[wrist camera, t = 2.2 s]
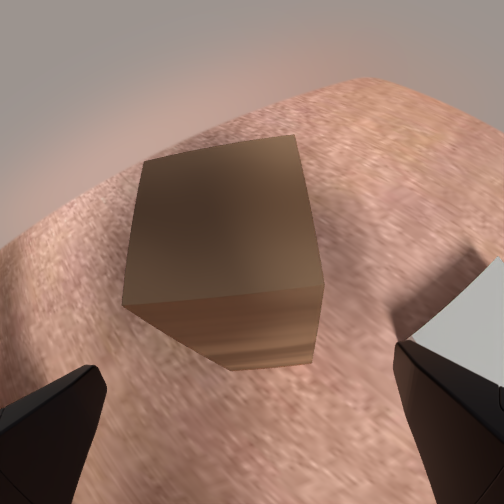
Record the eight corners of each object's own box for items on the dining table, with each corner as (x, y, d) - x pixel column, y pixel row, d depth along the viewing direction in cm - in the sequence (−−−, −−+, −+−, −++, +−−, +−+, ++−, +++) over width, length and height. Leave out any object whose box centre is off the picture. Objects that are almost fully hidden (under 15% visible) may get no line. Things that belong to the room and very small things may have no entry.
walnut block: (311, 363, 18) (324, 284, 7) (230, 371, 19) (121, 305, 8) (302, 288, 21) (294, 134, 9) (227, 297, 21) (143, 161, 10)
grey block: (461, 448, 14) (483, 451, 11) (397, 346, 18) (411, 335, 16) (537, 362, 15) (560, 353, 12) (480, 274, 19) (498, 255, 17)
